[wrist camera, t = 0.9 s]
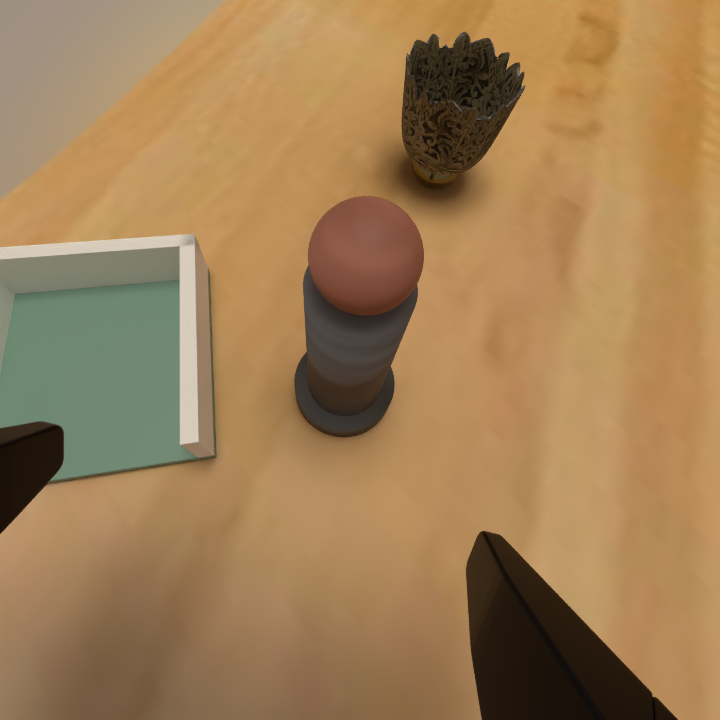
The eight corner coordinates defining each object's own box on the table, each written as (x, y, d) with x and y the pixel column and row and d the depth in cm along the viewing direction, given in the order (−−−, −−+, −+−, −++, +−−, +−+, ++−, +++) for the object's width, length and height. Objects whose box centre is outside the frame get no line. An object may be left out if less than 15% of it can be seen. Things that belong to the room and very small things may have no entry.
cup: (398, 214, 30) (424, 107, 22) (377, 145, 32) (394, 30, 25) (491, 206, 31) (545, 103, 24) (463, 140, 34) (503, 30, 26)
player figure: (361, 455, 22) (418, 339, 10) (276, 405, 23) (227, 235, 10) (405, 376, 24) (500, 198, 12) (328, 332, 25) (338, 121, 12)
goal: (216, 456, 21) (198, 441, 18) (-34, 496, 19) (-102, 486, 16) (209, 271, 26) (194, 233, 23) (8, 288, 24) (-39, 250, 21)
